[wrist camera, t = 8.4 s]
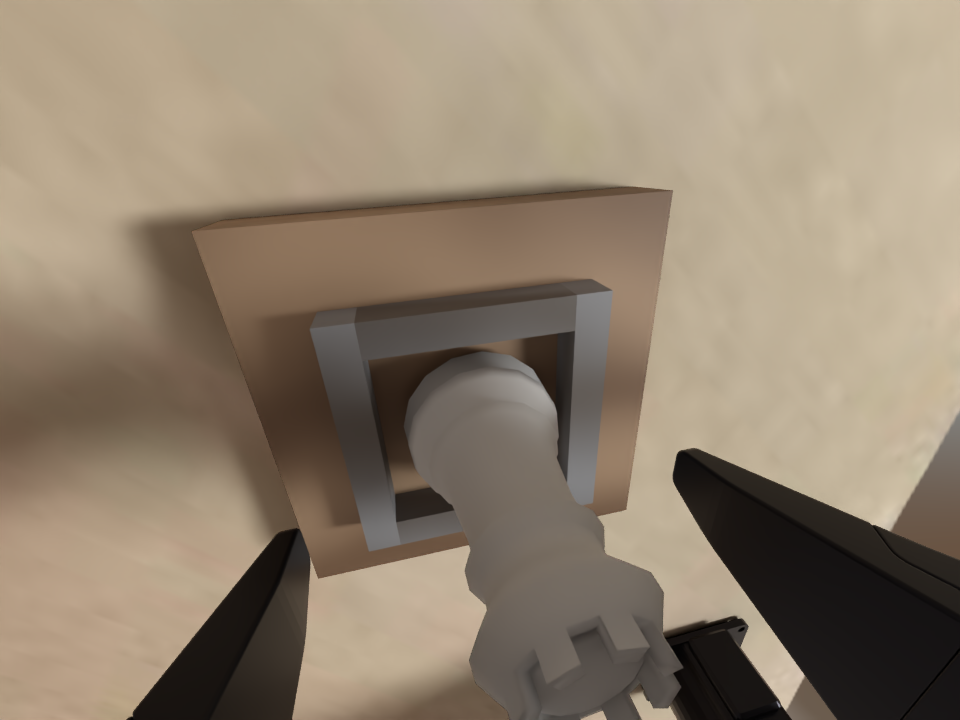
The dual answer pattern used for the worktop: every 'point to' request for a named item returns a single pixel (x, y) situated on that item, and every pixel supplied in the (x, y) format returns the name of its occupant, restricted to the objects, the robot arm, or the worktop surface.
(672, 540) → the worktop surface
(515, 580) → the rook chess piece
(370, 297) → the plinth
